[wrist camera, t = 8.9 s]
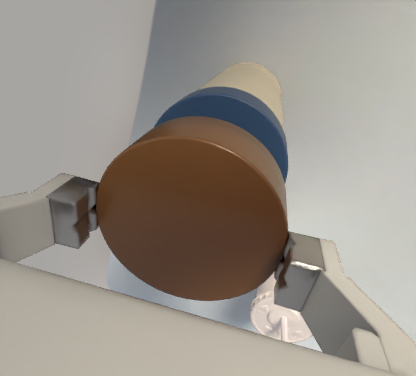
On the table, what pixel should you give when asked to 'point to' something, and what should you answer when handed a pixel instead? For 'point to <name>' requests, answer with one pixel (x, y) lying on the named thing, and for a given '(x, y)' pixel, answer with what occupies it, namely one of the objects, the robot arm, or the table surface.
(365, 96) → the table surface
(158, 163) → the brown lid
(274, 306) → the smoothie
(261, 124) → the bottle
